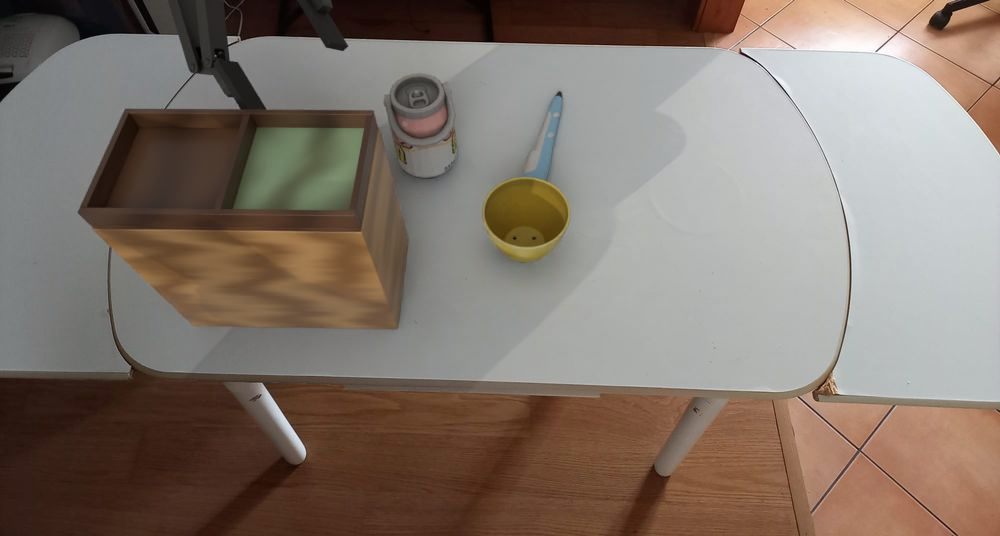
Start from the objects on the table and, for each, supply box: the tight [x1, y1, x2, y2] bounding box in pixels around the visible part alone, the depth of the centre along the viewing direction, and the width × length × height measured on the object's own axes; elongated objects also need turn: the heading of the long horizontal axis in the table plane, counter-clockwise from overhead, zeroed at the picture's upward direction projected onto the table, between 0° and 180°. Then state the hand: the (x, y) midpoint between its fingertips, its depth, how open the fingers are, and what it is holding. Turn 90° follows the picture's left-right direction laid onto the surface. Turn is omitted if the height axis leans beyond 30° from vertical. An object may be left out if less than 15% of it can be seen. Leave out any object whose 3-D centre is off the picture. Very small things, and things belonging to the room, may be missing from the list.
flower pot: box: [482, 176, 571, 263], centre depth 73 cm, size 10×10×7 cm
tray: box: [77, 108, 379, 232], centre depth 56 cm, size 24×12×2 cm, turn 89°
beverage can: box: [382, 72, 458, 179], centre depth 78 cm, size 9×8×12 cm
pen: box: [521, 90, 563, 181], centre depth 84 cm, size 19×3×3 cm, turn 166°
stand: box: [92, 127, 409, 330], centre depth 66 cm, size 24×12×20 cm, turn 89°
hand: (297, 84), depth 59 cm, fingers open, 11 cm apart
